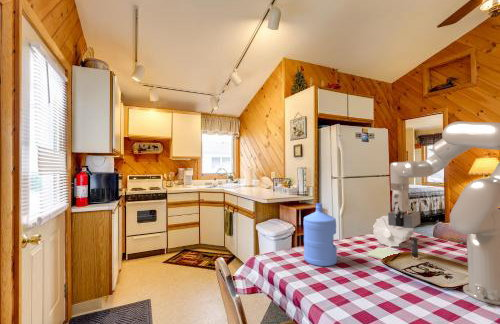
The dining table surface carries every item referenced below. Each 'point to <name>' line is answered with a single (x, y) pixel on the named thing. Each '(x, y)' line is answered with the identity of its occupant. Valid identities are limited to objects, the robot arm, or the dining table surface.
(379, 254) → the board
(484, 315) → the dining table surface
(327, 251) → the water jug
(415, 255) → the stand
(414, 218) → the c link
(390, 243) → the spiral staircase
